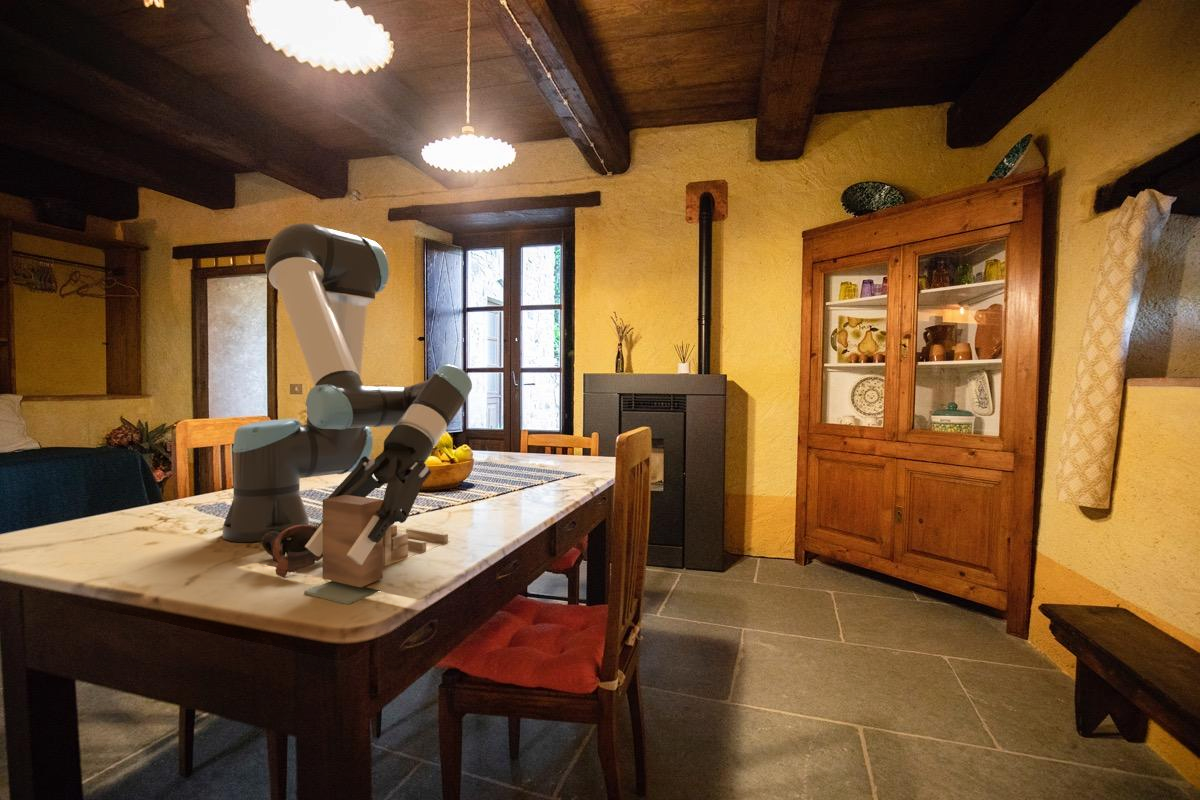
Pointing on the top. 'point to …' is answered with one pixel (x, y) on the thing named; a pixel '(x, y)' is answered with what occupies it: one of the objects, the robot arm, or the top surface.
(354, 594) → the felt mat
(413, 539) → the rack
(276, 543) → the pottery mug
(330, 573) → the brown rectangular block
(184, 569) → the top surface
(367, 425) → the robot arm
